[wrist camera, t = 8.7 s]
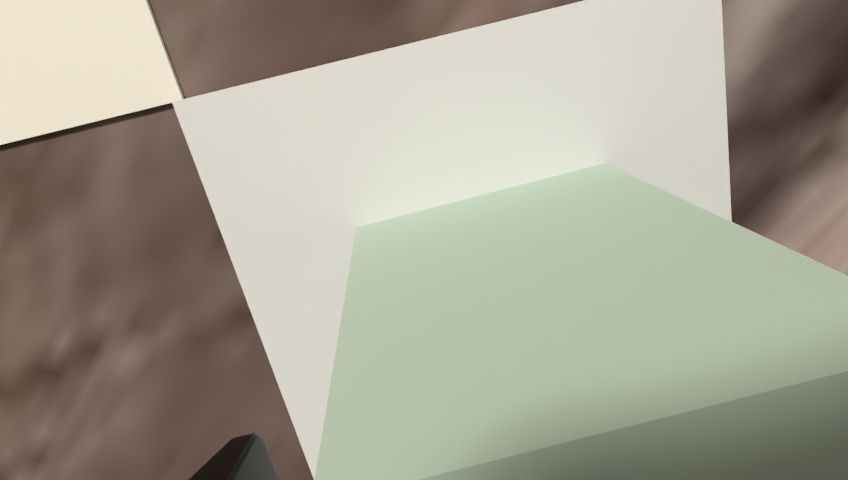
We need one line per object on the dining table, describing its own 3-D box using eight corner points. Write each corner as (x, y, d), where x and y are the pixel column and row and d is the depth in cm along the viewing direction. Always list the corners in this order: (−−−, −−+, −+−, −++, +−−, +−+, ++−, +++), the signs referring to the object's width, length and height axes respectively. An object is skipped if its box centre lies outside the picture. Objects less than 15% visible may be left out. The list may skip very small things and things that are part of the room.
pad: (701, -28, 10) (720, -33, 10) (727, 441, 14) (742, 458, 13) (183, 99, 10) (171, 101, 10) (344, 533, 14) (341, 554, 13)
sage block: (604, 162, 11) (980, 338, 4) (634, 377, 12) (936, 758, 5) (356, 226, 11) (310, 507, 4) (418, 431, 12) (458, 873, 6)
